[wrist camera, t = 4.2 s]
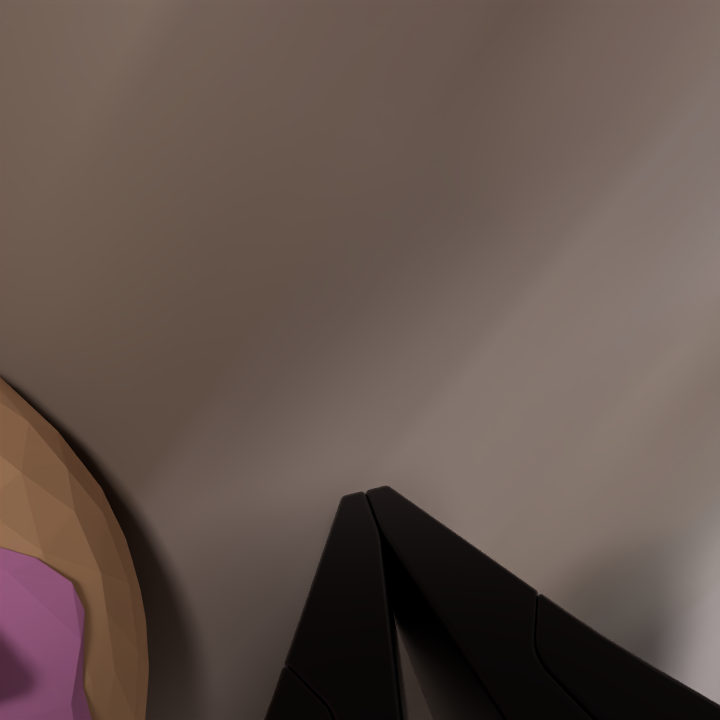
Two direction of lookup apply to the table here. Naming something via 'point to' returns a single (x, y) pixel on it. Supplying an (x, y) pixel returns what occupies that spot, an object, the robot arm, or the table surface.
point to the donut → (63, 584)
